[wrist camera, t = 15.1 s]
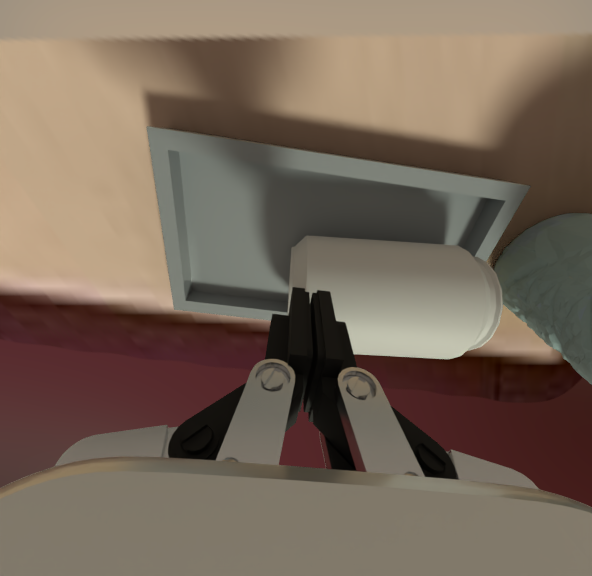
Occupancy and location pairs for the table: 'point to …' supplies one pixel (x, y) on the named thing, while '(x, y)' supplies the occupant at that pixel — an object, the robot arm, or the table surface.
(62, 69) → the table surface
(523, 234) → the green cup
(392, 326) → the can
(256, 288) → the tray
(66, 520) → the robot arm
